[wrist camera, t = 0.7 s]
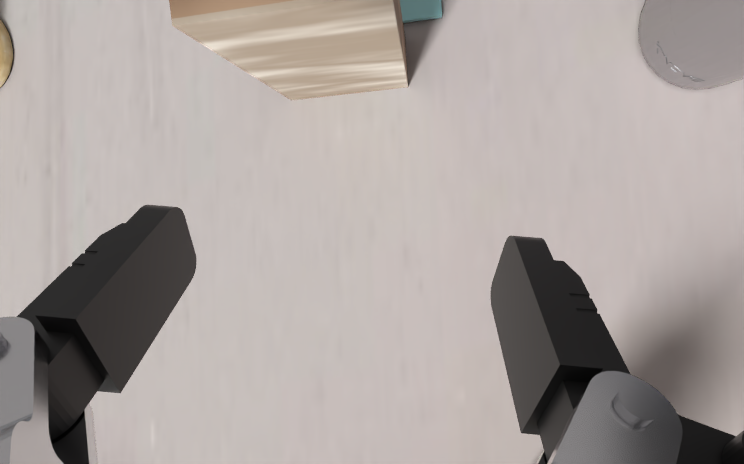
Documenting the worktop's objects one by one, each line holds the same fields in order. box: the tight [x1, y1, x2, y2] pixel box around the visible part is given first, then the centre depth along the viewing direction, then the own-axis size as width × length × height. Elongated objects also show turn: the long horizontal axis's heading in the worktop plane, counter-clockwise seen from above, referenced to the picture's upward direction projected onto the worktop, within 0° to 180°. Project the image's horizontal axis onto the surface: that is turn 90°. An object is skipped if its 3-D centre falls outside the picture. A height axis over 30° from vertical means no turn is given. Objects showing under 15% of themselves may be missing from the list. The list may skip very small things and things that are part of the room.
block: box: [169, 0, 408, 100], centre depth 25 cm, size 4×10×16 cm, turn 94°
